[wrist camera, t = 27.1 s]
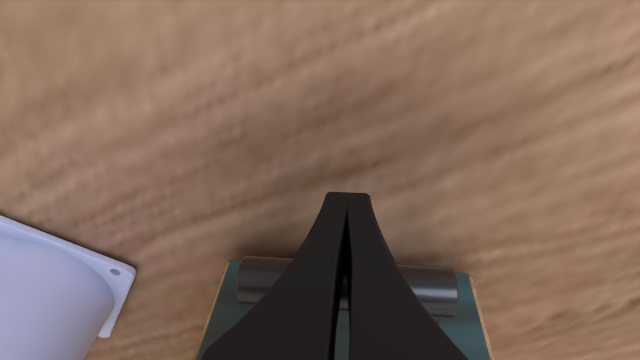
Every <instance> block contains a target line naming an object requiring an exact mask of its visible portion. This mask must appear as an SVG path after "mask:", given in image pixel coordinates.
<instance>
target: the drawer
mask: <svg viewBox="0 0 640 360" xmlns="http://www.w3.org/2000/svg"><path fill="white" fill-rule="evenodd" d="M291 261H292V258H275V257H257V256H245V257H243V259H242V261H240V260H230V262H229V265H228V268H227V271H226V274H225V276H224V279H223V282H222V285H221V288H220V291H219V294H218V297H217V300H216V303H215V306H214V308H213V311H212V314H211V317H210V320H209V323H208V326H207V329H206V332H205V335H204V337H203V340H202V343H201V346H200V349H199V352H198V355H197V358H196V360H200V359H201V357H202V355H203V354H204V352H205V350H206V349H207V348H208V347H209V346H210V345H211V344H213V343H214V342H215V341H216V340H217V339H218V338H220V337H221V336H222V335H223V334H224V333H226V332H227V331H228V330H229V329H230V328H231V327H233V326H234V325H235V324H236V323H237V322H238V321H239V320H240V319H241V318H242V317H243V316H244V315H245V314H246V313H247V312H248V311H249V310H250V309H251V308H252V307H253V306H254V305H255V304H256V303H257V302H258V301H259V300H260V299H261V298H262V297H263V296H264V294H265V293H266V292H267V291H268V290H269V289H270V287H271V286H272V285H273V284H274V283H275V282H276V280H277V279H278V278H279V277H280V275H281V274H282V273H283V271H284V270H285V269H286V268H287V266H288V265H289V263H290V262H291ZM397 266H398V267H399V269H400V271H401V273H402V274H403V276H404V278H405V279H406V281H407V282H408V284H409V285H410V287H411V289H412V290H413V292H414V293H415V294H416V296H417V297H418V299H419V300H420V302H421V303H422V304H423V306H424V307H425V308H426V310H427V311H428V312H429V313H430V315H431V316H432V317H433V319H434V320H435V321H436V322H437V324H438V325H439V326H440V328H441V329H442V330H443V331H444V332H445V333H446V335H447V336H448V337H449V338H450V339H451V340H452V341H453V343H454V344H455V345H456V346H457V347H458V348H459V349H460V350H461V351H462V352H463V353H464V355H465V356H466V357H467V358H468V359H469V360H491V359H490V355H489V351H488V348H487V344H486V340H485V336H484V332H483V328H482V325H481V321H480V317H479V313H478V309H477V305H476V302H475V298H474V294H473V290H472V286H471V282H470V279H469V275H468V274H463V273H455V271H454V269H452V268H450V267H432V266H415V265H397ZM349 340H350V336H349V311H348V289H347V268H346V264H345V269H344V275H343V283H342V292H341V301H340V308H339V314H338V321H337V330H336V342H335V360H349Z"/></svg>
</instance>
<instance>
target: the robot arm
mask: <svg viewBox="0 0 640 360" xmlns="http://www.w3.org/2000/svg"><path fill="white" fill-rule="evenodd" d="M345 264H346V268H347V289H348V311H349V336H350V340H349V360H469V359H468V358H467V357H466V356H465V355H464V353H463V352H462V351H461V350H460V349H459V348H458V347H457V346H456V345H455V344H454V343H453V341H452V340H451V339H450V338H449V337H448V336H447V335H446V333H445V332H444V331H443V330H442V329H441V328H440V326H439V325H438V324H437V322H436V321H435V320H434V319H433V317H432V316H431V315H430V313H429V312H428V311H427V310H426V308H425V307H424V306H423V304H422V303H421V302H420V300H419V299H418V297H417V296H416V294H415V293H414V292H413V290H412V289H411V287H410V285H409V284H408V282H407V281H406V279H405V278H404V276H403V274H402V273H401V271H400V269H399V267H398V266H397V264H396V262H395V260H394V258H393V256H392V254H391V253H390V250H389V248H388V246H387V244H386V242H385V240H384V238H383V235H382V233H381V231H380V228H379V226H378V223H377V220H376V218H375V215H374V212H373V208H372V204H371V200H370V196H369V195H368V194H367V193H346V192H329V193H327V194H326V196H325V200H324V202H323V205H322V208H321V210H320V212H319V214H318V216H317V219H316V221H315V223H314V224H313V226H312V228H311V230H310V232H309V234H308V235H307V237H306V239H305V241H304V242H303V244H302V245H301V247H300V248H299V250H298V252H297V253H296V255H295V256H294V258H293V259H292V261H291V262H290V263H289V265H288V266H287V268H286V269H285V270H284V271H283V273H282V274H281V275H280V277H279V278H278V279H277V280H276V282H275V283H274V284H273V285H272V286H271V287H270V289H269V290H268V291H267V292H266V293H265V294H264V296H263V297H262V298H261V299H260V300H259V301H258V302H257V303H256V304H255V305H254V306H253V307H252V308H251V309H250V310H249V311H248V312H247V313H246V314H245V315H244V316H243V317H242V318H241V319H240V320H239V321H238V322H237V323H236V324H235V325H234V326H233V327H231V328H230V329H229V330H228V331H227V332H226V333H224V334H223V335H222V336H221V337H220V338H218V339H217V340H216V341H215V342H214V343H213V344H211V345H210V346H209V347H208V348H207V349H206V350H205V352H204V354H203V355H202V357H201V359H200V360H335V342H336V330H337V321H338V314H339V308H340V301H341V292H342V283H343V275H344V269H345ZM135 276H136V270H135V269H134V268H133V267H132V266H130V265H127V264H125V263H122V262H119V261H117V260H114V259H112V258H109V257H107V256H104V255H101V254H99V253H96V252H94V251H91V250H89V249H86V248H83V247H81V246H78V245H76V244H73V243H71V242H68V241H65V240H63V239H60V238H58V237H55V236H53V235H50V234H47V233H45V232H42V231H40V230H37V229H35V228H32V227H29V226H27V225H24V224H22V223H19V222H17V221H14V220H11V219H9V218H6V217H4V216H1V215H0V360H84V358H85V357H86V355H87V353H88V352H89V350H90V348H91V346H92V345H93V343H94V341H95V339H96V338H97V336H98V337H102V338H107V337H109V336H110V334H111V332H112V330H113V328H114V325H115V323H116V321H117V318H118V316H119V314H120V311H121V309H122V307H123V304H124V302H125V300H126V297H127V295H128V292H129V290H130V288H131V285H132V283H133V281H134V278H135Z"/></svg>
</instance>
